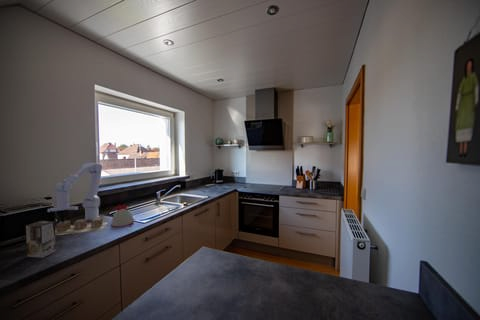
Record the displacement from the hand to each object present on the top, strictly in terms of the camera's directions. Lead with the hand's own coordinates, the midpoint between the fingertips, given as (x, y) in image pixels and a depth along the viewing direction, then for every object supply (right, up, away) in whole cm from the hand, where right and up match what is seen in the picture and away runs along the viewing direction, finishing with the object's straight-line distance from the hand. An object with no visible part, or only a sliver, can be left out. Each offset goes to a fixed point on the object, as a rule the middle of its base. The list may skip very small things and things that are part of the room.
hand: (63, 221), depth 118 cm
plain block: (0, -6, 0) cm, 6 cm away
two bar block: (+16, -6, +7) cm, 19 cm away
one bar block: (+8, -6, +4) cm, 11 cm away
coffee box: (+14, -8, -25) cm, 30 cm away
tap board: (+8, -7, +4) cm, 11 cm away
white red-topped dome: (+30, -7, +14) cm, 34 cm away
